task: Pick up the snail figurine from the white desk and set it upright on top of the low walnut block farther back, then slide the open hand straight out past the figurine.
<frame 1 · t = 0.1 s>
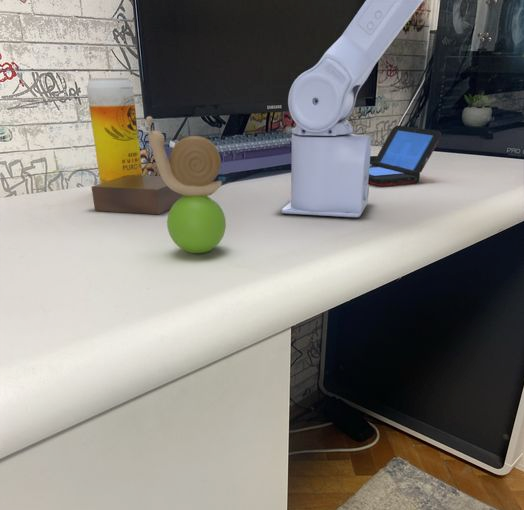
glass of beer: (123, 194, 78), on the table
snail figurine: (193, 254, 51), on the table
handheld console: (385, 179, 87), on the table
walnut block: (143, 205, 70), on the table
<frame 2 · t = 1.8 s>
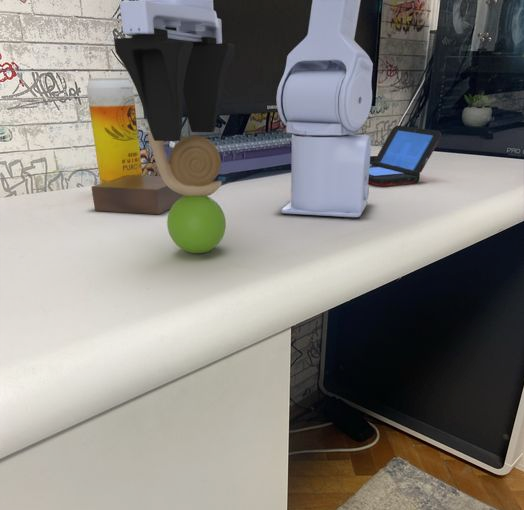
hand: (186, 136, 46), 10 cm above the table, tool pointing down, fingers open, 7 cm apart
nothing on the table moved.
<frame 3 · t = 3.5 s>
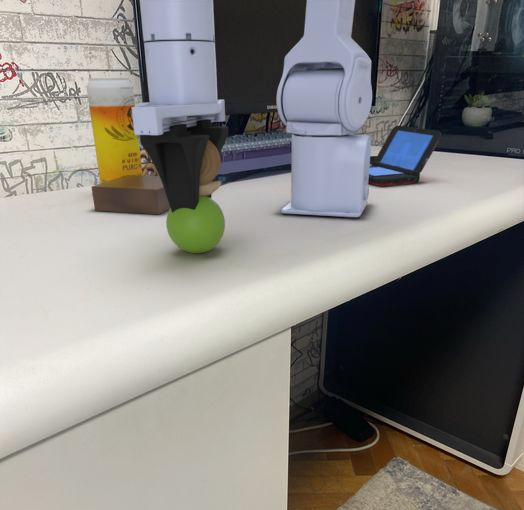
hand: (191, 212, 49), 4 cm above the table, tool pointing down, fingers closed on snail figurine, 2 cm apart
snail figurine: (192, 254, 51), on the table, touching gripper
everything else where it was.
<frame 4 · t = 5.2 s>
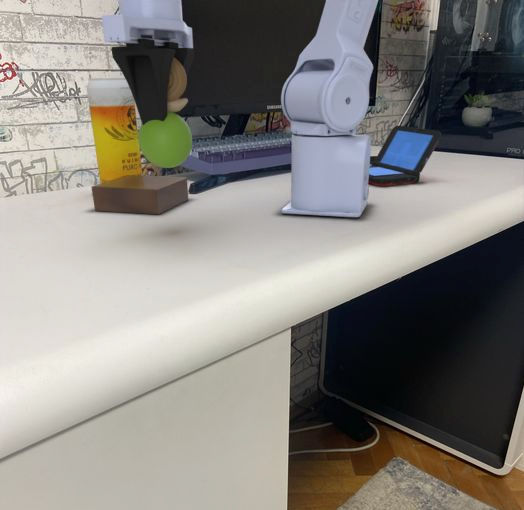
hand: (161, 128, 54), 10 cm above the table, tool pointing down, fingers closed on snail figurine, 2 cm apart
snail figurine: (163, 170, 55), point 6 cm above the table, touching gripper
everything else where it was.
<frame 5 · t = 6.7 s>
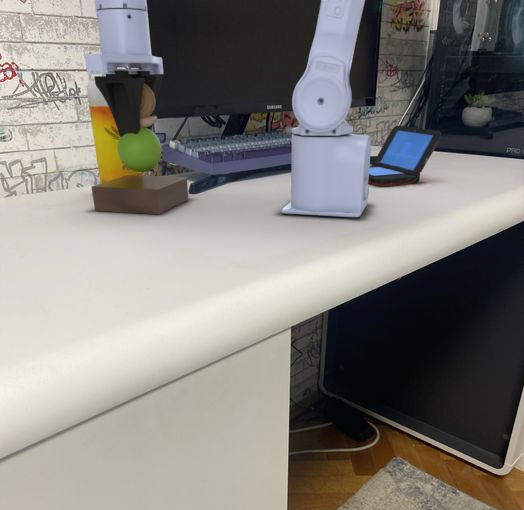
hand: (136, 139, 67), 8 cm above the table, tool pointing down, fingers closed on snail figurine, 2 cm apart
snail figurine: (138, 173, 68), point 4 cm above the table, touching gripper
everything else where it was.
when the fingers open (7 cm above the table, at t = 7.3 s): snail figurine stays where it is, resting on walnut block.
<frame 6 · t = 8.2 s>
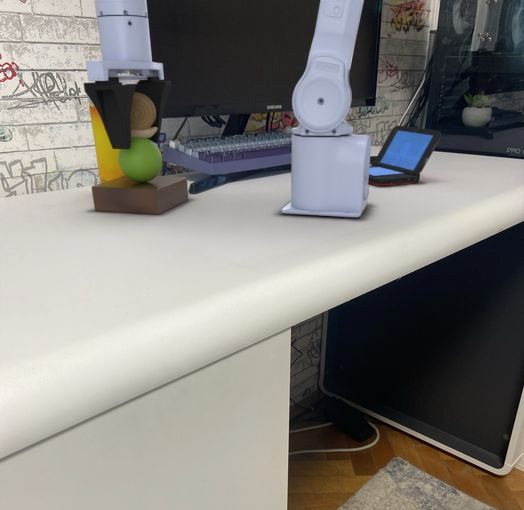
hand: (136, 145, 67), 7 cm above the table, tool pointing down, fingers open, 7 cm apart
snail figurine: (139, 183, 69), point 3 cm above the table, touching walnut block
walnut block: (143, 205, 70), on the table, touching snail figurine
everything else where it was.
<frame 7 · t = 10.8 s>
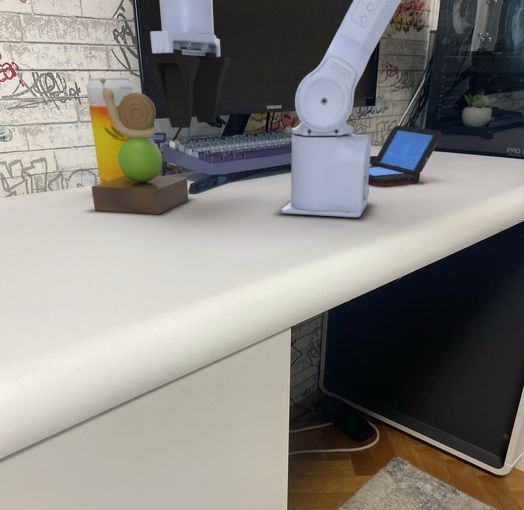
hand: (194, 124, 64), 10 cm above the table, tool pointing down, fingers open, 7 cm apart
nothing on the table moved.
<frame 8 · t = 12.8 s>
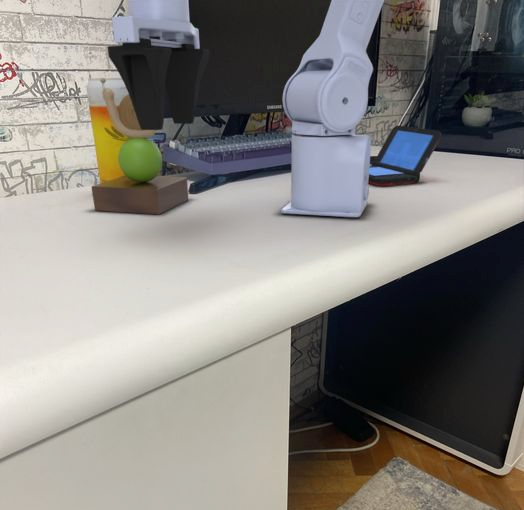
hand: (168, 126, 56), 10 cm above the table, tool pointing down, fingers open, 7 cm apart
nothing on the table moved.
at the end: snail figurine inside the target area on the walnut block (0.4 cm from its centre), point 2.8 cm above the walnut block's base; snail figurine tilted 0° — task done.
